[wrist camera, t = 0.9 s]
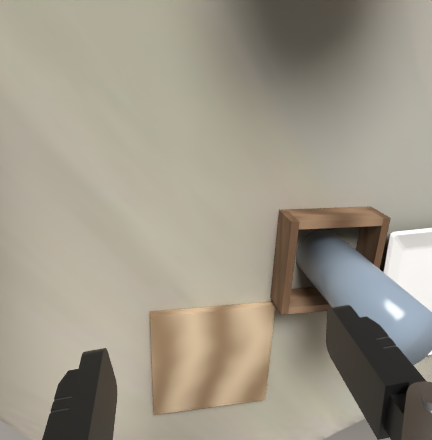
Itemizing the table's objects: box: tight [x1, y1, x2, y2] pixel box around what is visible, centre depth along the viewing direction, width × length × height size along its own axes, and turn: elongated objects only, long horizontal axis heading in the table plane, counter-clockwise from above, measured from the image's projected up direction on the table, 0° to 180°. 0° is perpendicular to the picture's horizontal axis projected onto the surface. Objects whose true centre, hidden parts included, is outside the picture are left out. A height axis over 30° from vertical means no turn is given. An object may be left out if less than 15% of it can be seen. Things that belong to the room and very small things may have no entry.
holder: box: [271, 207, 390, 315], centre depth 40 cm, size 11×11×4 cm
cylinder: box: [296, 230, 432, 365], centre depth 35 cm, size 6×6×15 cm
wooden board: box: [150, 302, 275, 415], centre depth 44 cm, size 14×14×1 cm
